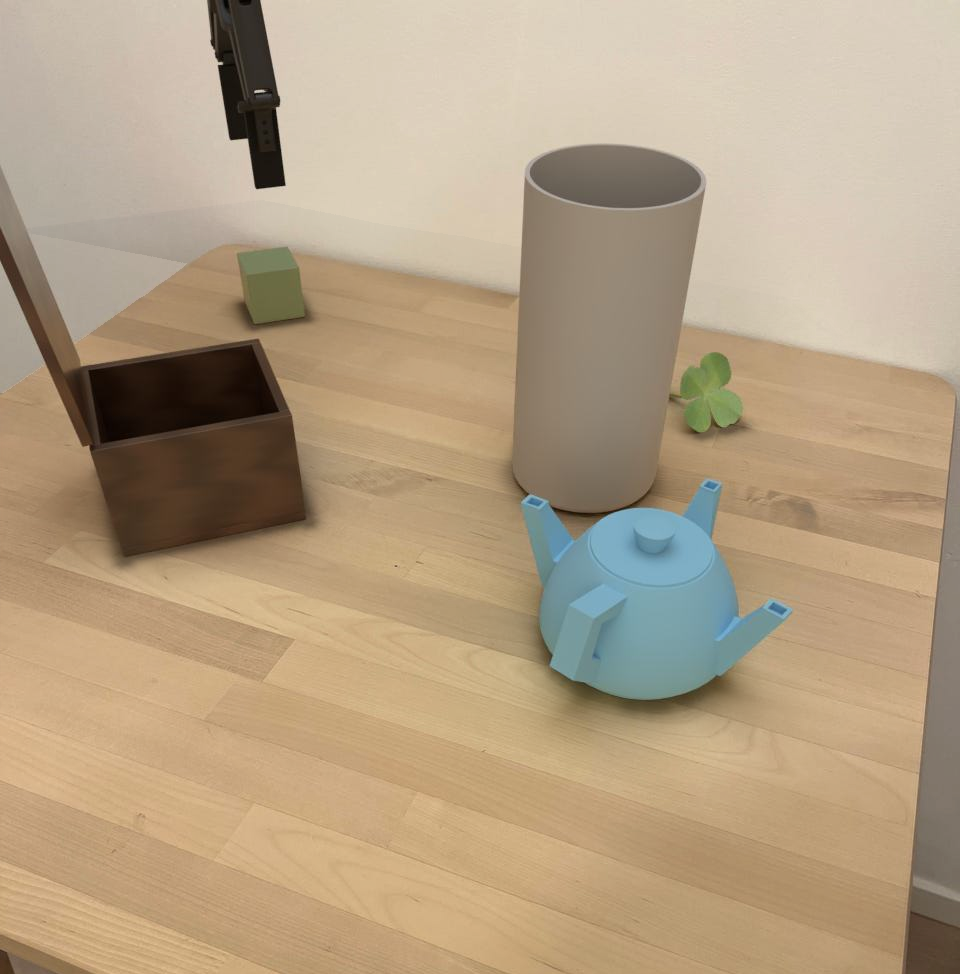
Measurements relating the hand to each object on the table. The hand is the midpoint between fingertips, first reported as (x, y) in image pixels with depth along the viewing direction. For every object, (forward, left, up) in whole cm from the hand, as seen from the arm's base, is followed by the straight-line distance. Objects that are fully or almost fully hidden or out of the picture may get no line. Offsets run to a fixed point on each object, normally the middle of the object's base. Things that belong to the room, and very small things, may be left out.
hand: (256, 161), depth 92 cm
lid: (+29, -20, +2) cm, 35 cm away
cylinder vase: (+37, +19, -16) cm, 44 cm away
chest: (+29, -12, -16) cm, 35 cm away
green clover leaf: (+31, +34, -16) cm, 49 cm away
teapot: (+57, +14, -16) cm, 61 cm away
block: (-2, 0, -16) cm, 16 cm away
